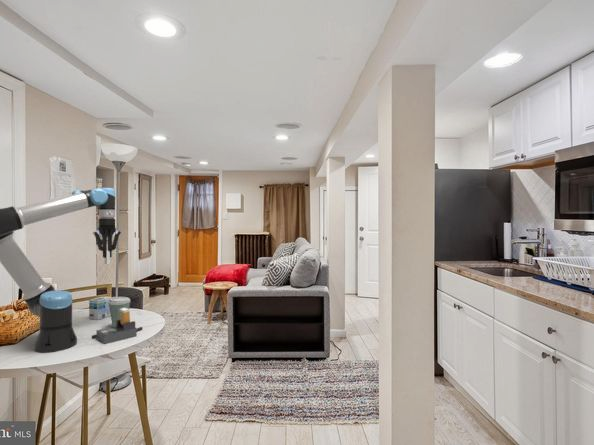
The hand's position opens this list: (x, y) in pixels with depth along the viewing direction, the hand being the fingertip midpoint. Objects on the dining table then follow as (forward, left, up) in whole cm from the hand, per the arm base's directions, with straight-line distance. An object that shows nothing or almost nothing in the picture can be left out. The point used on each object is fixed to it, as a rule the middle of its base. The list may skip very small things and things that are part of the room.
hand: (107, 263), depth 184 cm
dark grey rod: (-3, -15, -32) cm, 36 cm away
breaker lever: (0, -22, -27) cm, 35 cm away
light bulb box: (+5, +23, -33) cm, 40 cm away
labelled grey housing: (-4, -22, -32) cm, 39 cm away
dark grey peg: (+7, -19, -32) cm, 38 cm away
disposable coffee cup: (+4, -5, -33) cm, 33 cm away
